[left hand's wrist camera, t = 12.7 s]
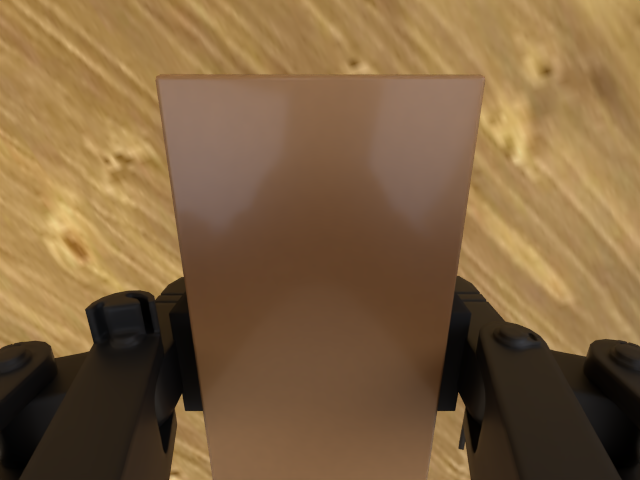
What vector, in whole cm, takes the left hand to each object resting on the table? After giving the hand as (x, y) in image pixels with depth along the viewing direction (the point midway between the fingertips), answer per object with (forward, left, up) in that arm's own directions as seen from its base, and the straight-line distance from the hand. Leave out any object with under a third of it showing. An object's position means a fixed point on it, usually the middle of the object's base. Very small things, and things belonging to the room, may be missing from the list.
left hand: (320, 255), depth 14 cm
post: (+24, +10, -1) cm, 26 cm away
